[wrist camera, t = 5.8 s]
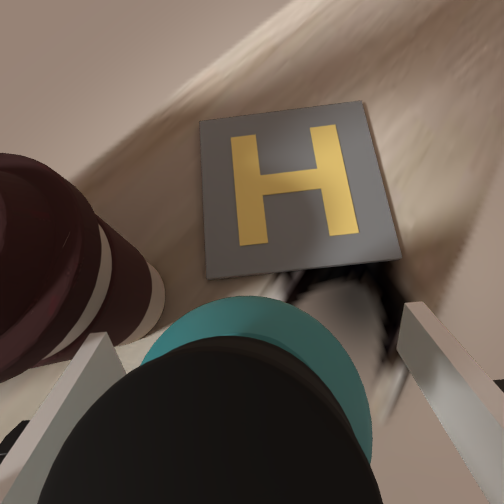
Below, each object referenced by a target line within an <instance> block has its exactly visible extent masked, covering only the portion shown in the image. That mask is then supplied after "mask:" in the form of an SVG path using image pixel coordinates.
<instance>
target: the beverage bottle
mask: <svg viewBox="0 0 504 504" xmlns="http://www.w3.org/2000/svg"><path fill="white" fill-rule="evenodd" d="M372 439H373V438H372V421H371V415H370V409H369V403H368V400H367V396H366V393H365V389H364V386H363V384H362V381H361V379H360V376H359V374H358V371H357V370H356V368H355V366H354V364H353V362H352V361H351V359H350V357H349V355H348V354H347V352H346V351H345V349H344V348H343V347H342V345H341V344H340V342H339V341H338V340H337V339H336V338H335V337H334V336H333V335H332V333H331V332H330V331H329V330H328V329H326V328H325V327H324V326H323V325H322V324H321V323H320V322H319V321H317V320H316V319H314V318H313V317H312V316H310V315H309V314H307V313H306V312H304V311H302V310H300V309H299V308H297V307H295V306H293V305H290V304H288V303H285V302H282V301H279V300H275V299H271V298H267V297H259V296H236V297H228V298H223V299H219V300H216V301H212V302H210V303H207V304H204V305H202V306H200V307H198V308H196V309H194V310H192V311H190V312H188V313H187V314H185V315H184V316H183V317H181V318H180V319H178V320H177V321H176V322H175V323H173V324H172V325H171V326H170V327H169V328H168V329H167V330H166V331H165V332H164V333H163V334H162V335H161V336H160V337H159V338H158V340H157V341H156V342H155V343H154V344H153V346H152V347H151V349H150V350H149V352H148V353H147V354H146V356H145V358H144V360H143V361H142V363H141V365H140V366H139V367H137V368H136V369H134V370H132V371H131V372H129V373H128V374H126V375H125V376H124V377H122V378H121V379H120V380H118V381H117V382H116V383H114V384H113V385H112V386H111V387H110V388H109V389H108V390H107V391H106V392H105V393H104V394H103V395H102V396H100V397H99V398H98V399H97V400H96V402H95V403H94V404H93V405H92V406H91V407H90V408H89V409H88V410H87V412H86V413H85V414H84V415H83V416H82V418H81V419H80V420H79V421H78V422H77V424H76V425H75V427H74V428H73V430H72V431H71V433H70V434H69V436H68V437H67V439H66V440H65V442H64V444H63V445H62V447H61V449H60V451H59V453H58V455H57V457H56V459H55V460H54V462H53V464H52V467H51V469H50V471H49V474H48V476H47V478H46V481H45V483H44V485H43V488H42V490H41V493H40V496H39V500H38V503H37V504H383V502H382V498H381V495H380V491H379V488H378V484H377V482H376V479H375V477H374V474H373V472H372V469H371V467H370V463H371V457H372Z"/></svg>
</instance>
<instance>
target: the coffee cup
mask: <svg viewBox="0 0 504 504" xmlns="http://www.w3.org/2000/svg"><path fill="white" fill-rule="evenodd" d="M164 304H165V288H164V284H163V281H162V278H161V276H160V275H159V273H158V272H157V270H156V269H155V268H154V267H153V266H152V265H150V264H149V263H148V262H147V261H146V260H145V259H144V258H143V256H142V255H141V254H140V252H139V251H138V250H137V249H136V248H135V247H133V246H132V245H131V244H130V243H129V242H128V241H126V240H125V239H124V238H123V237H122V236H120V235H119V234H118V233H117V232H116V231H115V230H113V229H112V228H111V227H110V226H109V225H108V224H106V223H105V222H104V221H103V220H102V219H101V218H99V217H98V216H97V215H96V214H95V213H94V211H93V209H92V207H91V206H90V204H89V203H88V201H87V199H86V198H85V197H84V196H83V195H82V193H81V192H80V191H79V190H78V189H77V188H76V187H75V186H73V185H72V184H71V183H70V182H68V181H67V180H66V179H64V178H63V177H62V176H61V175H59V174H58V173H57V172H55V171H54V170H52V169H51V168H49V167H48V166H47V165H45V164H43V163H40V162H38V161H36V160H34V159H31V158H28V157H25V156H21V155H15V154H6V153H0V383H2V382H4V381H6V380H9V379H11V378H13V377H15V376H17V375H19V374H21V373H23V372H24V371H26V370H27V369H30V368H35V367H40V366H44V365H49V364H53V363H58V362H62V361H67V360H71V359H73V357H74V356H75V355H76V353H77V352H78V350H79V349H80V347H81V346H82V344H83V343H84V341H85V340H86V338H87V337H88V336H89V334H90V333H99V332H107V334H108V336H109V338H110V340H111V342H112V344H113V346H114V347H116V346H121V345H126V344H130V343H132V342H135V341H137V340H139V339H140V338H142V337H143V336H144V335H146V334H147V333H148V332H149V331H150V330H151V329H152V328H153V327H154V326H155V324H156V323H157V321H158V320H159V318H160V316H161V314H162V311H163V308H164Z"/></svg>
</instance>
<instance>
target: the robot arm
mask: <svg viewBox="0 0 504 504" xmlns="http://www.w3.org/2000/svg"><path fill="white" fill-rule="evenodd" d="M397 351H398V353H399V354H400V356H401V358H402V359H403V361H404V363H405V364H406V366H407V368H408V369H409V371H410V373H411V374H412V376H413V378H414V379H415V381H416V382H417V384H418V386H419V387H420V389H421V391H422V392H423V394H424V396H425V397H426V399H427V401H428V402H429V404H430V406H431V407H432V409H433V410H434V412H435V414H436V415H437V417H438V419H439V420H440V422H441V424H442V426H443V427H444V429H445V431H446V432H447V434H448V435H449V437H450V439H451V440H452V442H453V444H454V445H455V447H456V449H457V450H458V452H459V454H460V455H461V457H462V459H463V460H464V462H465V464H466V465H467V467H468V469H469V470H470V472H471V473H472V475H473V477H474V478H475V480H476V482H477V484H478V485H479V487H480V488H481V490H482V492H483V493H484V495H485V497H486V498H487V500H488V502H489V503H490V504H504V379H502V380H492V379H491V378H490V377H489V376H488V375H487V374H486V372H485V371H484V370H483V369H482V368H481V367H480V366H479V365H478V363H477V362H476V361H475V360H474V359H473V358H472V357H471V355H470V354H469V353H468V352H467V351H466V350H465V349H464V347H463V346H462V345H461V344H460V343H459V342H458V341H457V340H456V338H455V337H454V336H453V335H452V334H451V333H450V332H449V331H448V329H447V328H446V327H445V326H444V325H443V324H442V323H441V321H440V320H439V319H438V318H437V317H436V316H435V315H434V313H433V312H432V311H431V310H430V309H429V308H428V307H427V306H426V304H425V303H424V302H423V301H420V302H410V303H404V309H403V314H402V320H401V326H400V331H399V337H398V343H397ZM125 375H126V372H125V370H124V368H123V365H122V363H121V361H120V359H119V357H118V355H117V353H116V351H115V349H114V346H113V344H112V342H111V340H110V338H109V336H108V334H107V332H99V333H90V334H89V336H88V337H87V338H86V340H85V341H84V343H83V344H82V346H81V347H80V349H79V350H78V352H77V353H76V355H75V356H74V357H73V359H72V360H71V362H70V363H69V365H68V366H67V368H66V369H65V371H64V372H63V374H62V375H61V376H60V378H59V379H58V381H57V382H56V384H55V385H54V387H53V388H52V390H51V391H50V393H49V394H48V395H47V397H46V398H45V400H44V401H43V403H42V404H41V406H40V407H39V409H38V410H37V412H36V413H35V414H34V416H33V417H32V419H31V420H26V421H22V422H21V423H19V424H18V425H17V426H16V427H15V428H14V429H13V430H12V431H11V432H10V433H9V434H8V435H7V436H6V437H5V438H4V440H3V441H2V442H1V444H0V504H37V503H38V500H39V496H40V493H41V490H42V488H43V485H44V483H45V481H46V478H47V476H48V474H49V471H50V469H51V467H52V464H53V462H54V460H55V459H56V457H57V455H58V453H59V451H60V449H61V447H62V445H63V444H64V442H65V440H66V439H67V437H68V436H69V434H70V433H71V431H72V430H73V428H74V427H75V425H76V424H77V422H78V421H79V420H80V419H81V418H82V416H83V415H84V414H85V413H86V412H87V410H88V409H89V408H90V407H91V406H92V405H93V404H94V403H95V402H96V400H97V399H98V398H99V397H100V396H102V395H103V394H104V393H105V392H106V391H107V390H108V389H109V388H110V387H111V386H112V385H113V384H114V383H116V382H117V381H118V380H120V379H121V378H122V377H124V376H125Z"/></svg>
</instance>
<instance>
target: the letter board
mask: <svg viewBox="0 0 504 504" xmlns="http://www.w3.org/2000/svg"><path fill="white" fill-rule="evenodd" d="M199 124H200V146H201V168H202V191H203V213H204V235H205V257H206V279H208V280H212V279H222V278H231V277H241V276H250V275H260V274H269V273H279V272H288V271H298V270H307V269H317V268H326V267H336V266H345V265H355V264H364V263H374V262H383V261H393V260H400V259H401V258H402V254H401V251H400V247H399V243H398V239H397V235H396V231H395V228H394V224H393V220H392V216H391V212H390V208H389V204H388V201H387V197H386V193H385V189H384V185H383V181H382V178H381V174H380V170H379V166H378V162H377V158H376V154H375V151H374V147H373V143H372V139H371V135H370V131H369V128H368V124H367V120H366V116H365V112H364V108H363V104H362V101H354V102H346V103H338V104H330V105H322V106H315V107H307V108H299V109H291V110H283V111H275V112H268V113H260V114H252V115H244V116H236V117H229V118H221V119H213V120H205V121H199Z"/></svg>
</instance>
